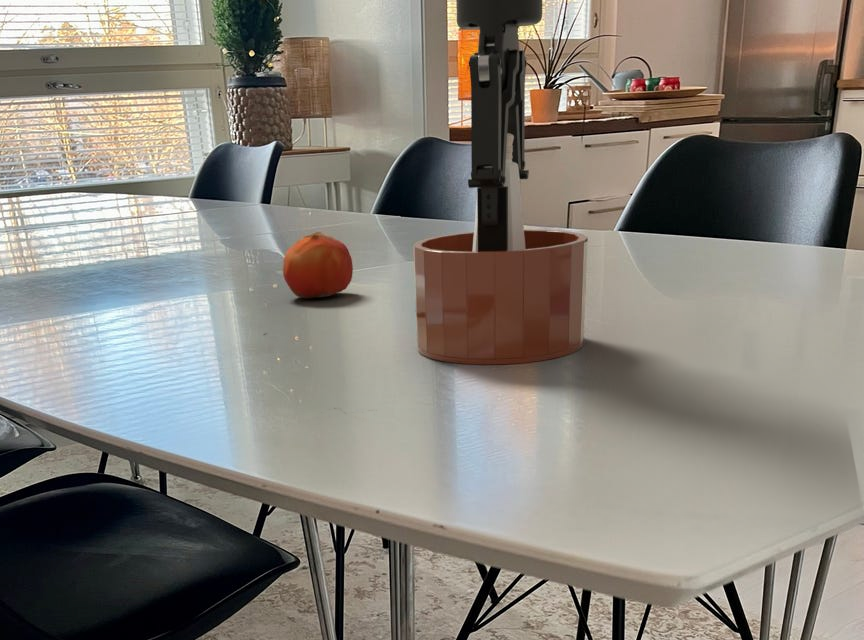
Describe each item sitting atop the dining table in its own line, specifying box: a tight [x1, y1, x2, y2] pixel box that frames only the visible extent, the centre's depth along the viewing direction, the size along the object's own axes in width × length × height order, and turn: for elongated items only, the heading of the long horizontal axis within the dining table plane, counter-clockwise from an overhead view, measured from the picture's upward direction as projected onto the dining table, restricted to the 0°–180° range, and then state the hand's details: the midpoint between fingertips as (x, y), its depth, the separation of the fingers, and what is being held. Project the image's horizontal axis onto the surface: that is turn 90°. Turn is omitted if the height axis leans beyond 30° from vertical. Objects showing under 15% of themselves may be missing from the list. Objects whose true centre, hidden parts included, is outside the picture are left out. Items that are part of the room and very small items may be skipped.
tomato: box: [282, 231, 354, 299], centre depth 134 cm, size 9×9×8 cm
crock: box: [412, 229, 589, 366], centre depth 101 cm, size 17×17×10 cm
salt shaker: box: [472, 133, 526, 252], centre depth 97 cm, size 5×5×11 cm
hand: (499, 256), depth 99 cm, fingers closed on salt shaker, 5 cm apart
